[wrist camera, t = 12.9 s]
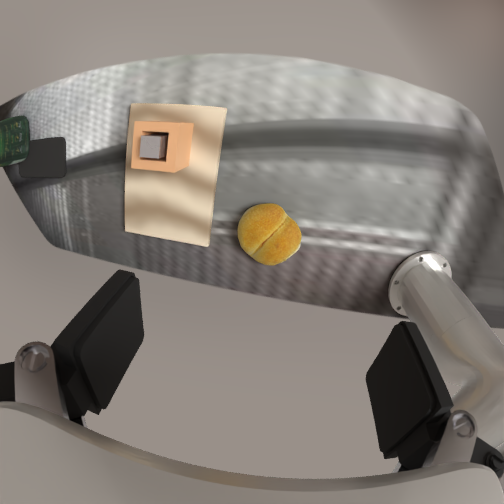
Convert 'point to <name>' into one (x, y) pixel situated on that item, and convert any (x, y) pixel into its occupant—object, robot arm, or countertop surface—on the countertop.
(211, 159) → the base board
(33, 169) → the phone
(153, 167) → the square hollow tube
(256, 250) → the bread roll
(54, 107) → the countertop surface
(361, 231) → the countertop surface
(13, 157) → the coffee jar
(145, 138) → the square shaft
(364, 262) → the countertop surface
